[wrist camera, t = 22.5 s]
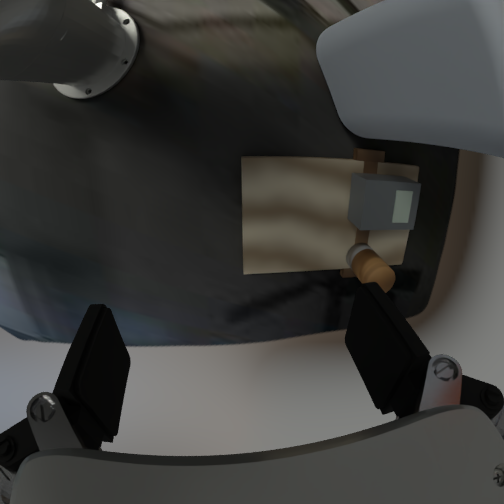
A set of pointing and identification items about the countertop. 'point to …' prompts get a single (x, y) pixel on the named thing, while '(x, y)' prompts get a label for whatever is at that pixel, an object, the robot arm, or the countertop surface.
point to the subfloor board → (310, 212)
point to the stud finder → (383, 202)
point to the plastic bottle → (420, 72)
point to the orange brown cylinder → (370, 266)
